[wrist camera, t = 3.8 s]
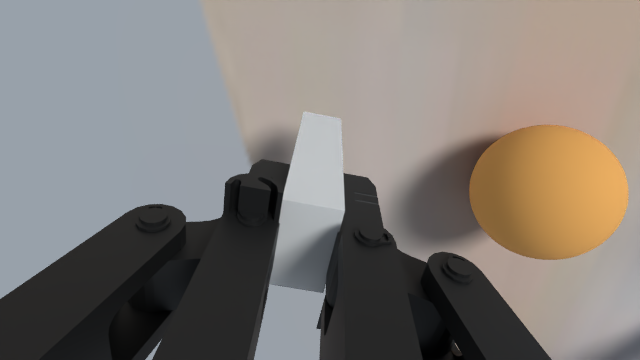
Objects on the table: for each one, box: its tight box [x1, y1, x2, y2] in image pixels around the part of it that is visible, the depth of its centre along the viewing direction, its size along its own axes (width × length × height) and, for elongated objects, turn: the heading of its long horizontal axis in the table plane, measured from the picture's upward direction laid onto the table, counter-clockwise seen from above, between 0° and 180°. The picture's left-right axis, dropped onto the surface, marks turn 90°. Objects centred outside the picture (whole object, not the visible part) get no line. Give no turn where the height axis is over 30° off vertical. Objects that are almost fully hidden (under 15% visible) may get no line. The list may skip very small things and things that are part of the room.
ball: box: [469, 125, 628, 260], centre depth 15 cm, size 6×6×6 cm
